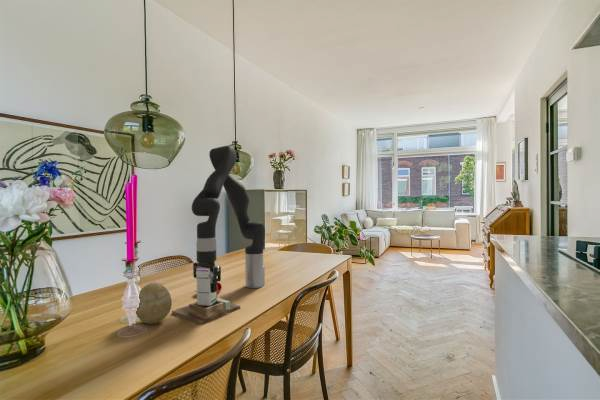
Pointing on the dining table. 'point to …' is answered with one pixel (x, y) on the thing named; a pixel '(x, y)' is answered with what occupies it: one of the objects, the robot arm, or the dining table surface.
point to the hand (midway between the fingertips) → (206, 290)
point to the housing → (204, 311)
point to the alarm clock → (218, 287)
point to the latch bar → (227, 303)
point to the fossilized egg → (153, 303)
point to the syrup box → (204, 287)
